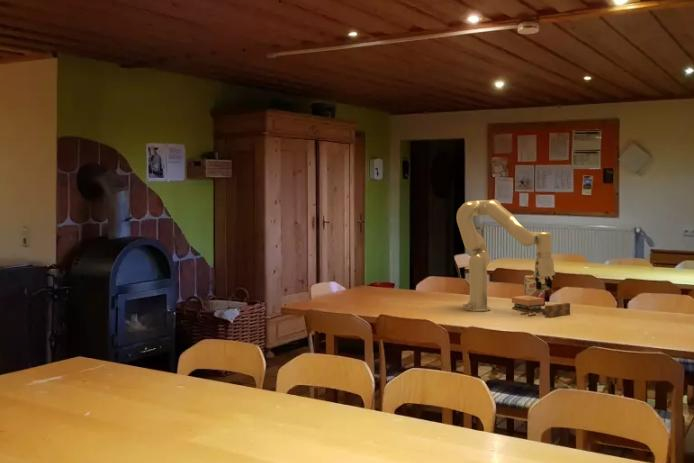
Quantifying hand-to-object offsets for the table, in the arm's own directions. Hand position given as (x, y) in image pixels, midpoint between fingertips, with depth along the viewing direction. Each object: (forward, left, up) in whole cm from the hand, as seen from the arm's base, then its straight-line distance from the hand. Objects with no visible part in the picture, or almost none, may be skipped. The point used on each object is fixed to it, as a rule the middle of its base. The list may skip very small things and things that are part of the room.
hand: (544, 288), depth 381 cm
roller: (0, 0, -1) cm, 1 cm away
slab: (0, +12, -10) cm, 16 cm away
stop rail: (0, -10, -13) cm, 17 cm away
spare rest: (-11, 0, -13) cm, 17 cm away
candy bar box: (+14, +21, -14) cm, 29 cm away
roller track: (0, +7, -13) cm, 15 cm away
